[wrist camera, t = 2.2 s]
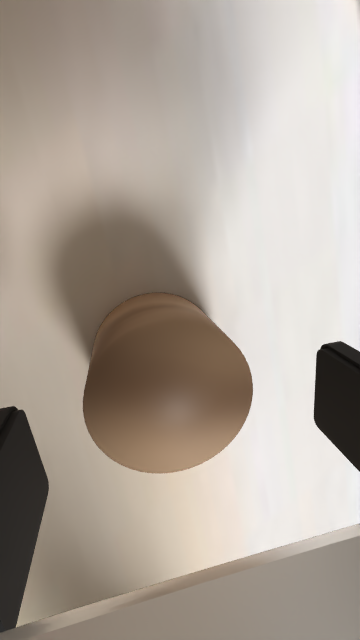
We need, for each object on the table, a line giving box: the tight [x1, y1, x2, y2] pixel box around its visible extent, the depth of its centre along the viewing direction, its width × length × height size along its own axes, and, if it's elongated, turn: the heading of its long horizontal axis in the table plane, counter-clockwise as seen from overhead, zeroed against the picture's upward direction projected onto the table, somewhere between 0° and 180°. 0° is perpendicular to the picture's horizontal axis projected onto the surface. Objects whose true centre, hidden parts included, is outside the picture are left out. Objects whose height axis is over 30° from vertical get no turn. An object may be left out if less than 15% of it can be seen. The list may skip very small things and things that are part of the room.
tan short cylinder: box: [83, 293, 253, 473], centre depth 14 cm, size 7×7×5 cm
